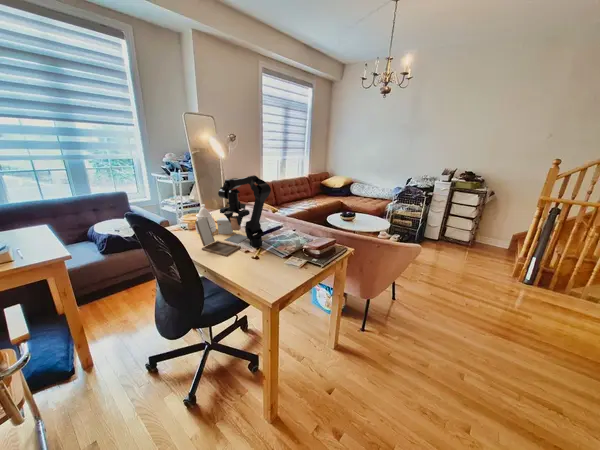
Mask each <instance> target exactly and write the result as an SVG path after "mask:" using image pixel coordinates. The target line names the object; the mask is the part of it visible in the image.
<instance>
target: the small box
mask: <svg viewBox="0 0 600 450" xmlns="http://www.w3.org/2000/svg"><path fill="white" fill-rule="evenodd" d="M216 226H217V231H218V235H233V233H234V230H232V229H231V223H230V222H229V220H228V219H227V217H218V219H217V220H216Z"/></svg>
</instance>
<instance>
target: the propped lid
mask: <svg viewBox="0 0 600 450" xmlns="http://www.w3.org/2000/svg"><path fill="white" fill-rule="evenodd" d="M194 222H195V225H196V226H197V229H198V232H199V234H198V235H199V237H200V240H201V244H202V247H205V246H207V245H209V244H211V243H213V242H216V241H215V238H214V235H213V233H212V231H211V228H210V225H209V222H208V219H207V217H206V218H203V219H201V220H198V221H194ZM196 226H195V227H196Z"/></svg>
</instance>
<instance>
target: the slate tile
mask: <svg viewBox="0 0 600 450" xmlns="http://www.w3.org/2000/svg"><path fill="white" fill-rule="evenodd" d="M245 240H248V238H247V235H242V234H239V233H235V234H232V235H231V236H229V237H227V238H225V239H224V242H225V241H226V242H230V243H234V244H240V243H241V242H243V241H245Z"/></svg>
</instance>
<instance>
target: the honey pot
mask: <svg viewBox="0 0 600 450" xmlns="http://www.w3.org/2000/svg"><path fill="white" fill-rule="evenodd" d="M200 207H201V208H200V209H199V211H198V213H196V215H195V217H196V221H198V220H201V219H202V217H204V218H206V217H207V219H208V222H209V225H210V228H211V231H212V234H213V233H215V232H216V231H217V223H216V221H215V219H214V217H213V216H212V215H213V214H212V213H211V212H210V211H209V209H207V208H206V204H204V203H203V204H202V203H201V204H200ZM195 232H196V234H198V235H199V232H198V229H197V226H196V224H195Z"/></svg>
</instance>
